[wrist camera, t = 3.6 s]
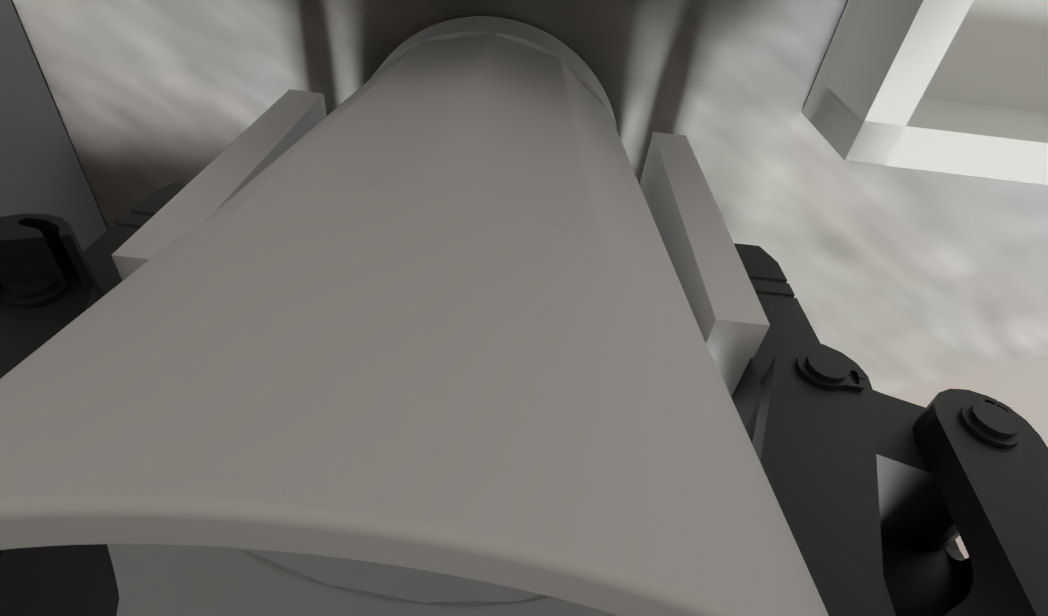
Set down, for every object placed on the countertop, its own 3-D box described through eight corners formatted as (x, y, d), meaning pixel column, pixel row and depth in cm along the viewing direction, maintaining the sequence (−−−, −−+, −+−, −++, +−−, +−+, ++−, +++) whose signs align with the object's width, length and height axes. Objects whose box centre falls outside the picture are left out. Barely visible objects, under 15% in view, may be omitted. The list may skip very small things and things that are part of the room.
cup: (259, 28, 12) (-629, 590, 3) (628, -82, 11) (1057, 373, 2) (400, 307, 17) (217, 854, 8) (669, 258, 16) (834, 865, 6)
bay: (103, 306, 18) (-21, 431, 14) (-183, -299, 10) (-675, -393, 6) (655, 367, 19) (679, 504, 15) (840, -163, 10) (1012, -165, 6)
